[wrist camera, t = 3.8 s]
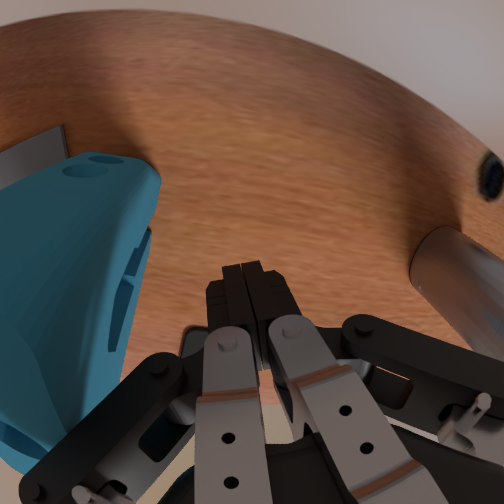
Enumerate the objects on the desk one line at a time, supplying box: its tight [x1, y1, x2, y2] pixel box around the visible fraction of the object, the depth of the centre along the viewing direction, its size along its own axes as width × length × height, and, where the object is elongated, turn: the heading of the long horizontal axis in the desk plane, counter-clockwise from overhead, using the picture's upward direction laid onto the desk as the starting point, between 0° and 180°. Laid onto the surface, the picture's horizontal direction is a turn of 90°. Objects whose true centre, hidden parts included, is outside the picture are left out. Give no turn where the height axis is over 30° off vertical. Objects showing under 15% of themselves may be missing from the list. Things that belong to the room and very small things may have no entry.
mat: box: [0, 125, 69, 190], centre depth 21 cm, size 20×18×1 cm
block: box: [0, 151, 161, 475], centre depth 14 cm, size 12×5×20 cm, turn 163°
